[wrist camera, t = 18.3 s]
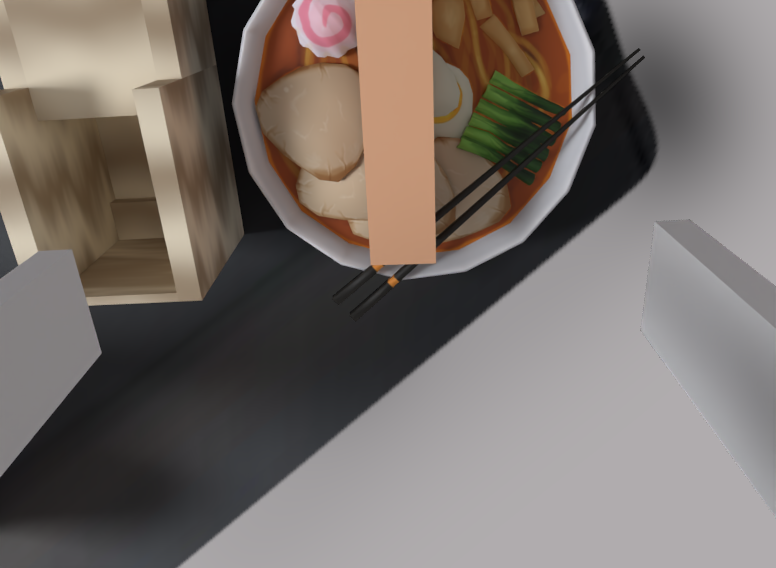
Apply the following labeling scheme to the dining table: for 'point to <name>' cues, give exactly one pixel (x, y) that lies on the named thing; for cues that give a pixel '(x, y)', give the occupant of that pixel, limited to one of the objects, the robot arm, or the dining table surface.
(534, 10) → the ramen bowl
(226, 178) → the box
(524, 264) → the dining table surface
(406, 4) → the tan block
